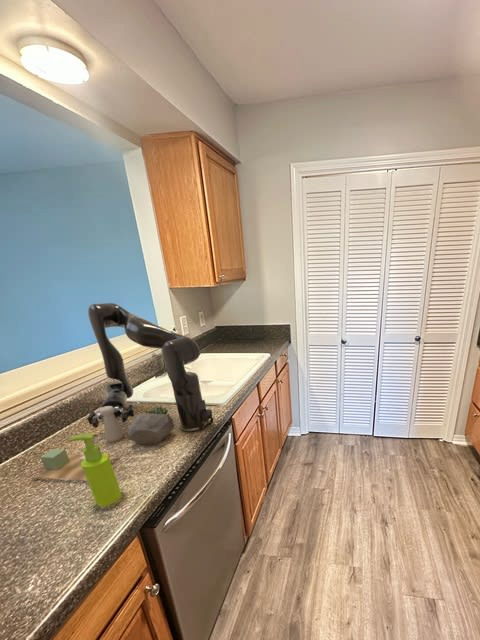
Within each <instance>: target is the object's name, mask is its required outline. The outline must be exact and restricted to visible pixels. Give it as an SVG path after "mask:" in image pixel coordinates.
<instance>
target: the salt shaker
mask: <svg viewBox="0 0 480 640" xmlns="http://www.w3.org/2000/svg"><path fill="white" fill-rule="evenodd" d="M99 412H100V414H101V415H102V416H103V417H104V418H103V419H104V422H103V427H104V438H105V439H106V441H108V442H110V443H111V442H112V443H113V442H117V441H120V440H121V439H123V438H124V436H125V432H124V431H123V428H122V427H121V424H120V423H119V421H118V418H116V417H115V415H114V414H113V413H114V408H113V407H112V406H105V407H102V406H101V408H100V409H99Z"/></svg>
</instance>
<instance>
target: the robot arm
mask: <svg viewBox="0 0 480 640" xmlns="http://www.w3.org/2000/svg"><path fill="white" fill-rule="evenodd" d="M87 314H88V319H89V323H90V326H91V328H92V331H93V333H94V337H95V339H96V341H97V344H98V347H99V350H100V352H101V356H102V361H103V365H104V369H105V374H106V377H107V378H108V379H111V380H118V381H119V382H111V383H108V384H106V385H105V386H104V387H105V388H104V393H105V396H106V397H105V399H104V401H103V404H102V406H101V408H102V407H105V406H112V407H113V408H114V413H113V414H114V415H115V417H116V419H119V418H120V419H121V422H122V423H126V421H128V418H129V417H134V416H135V409H134V406H133V404H129V405H128V406H127V399H130V398H132V397H133V395H134V388H133V386H132V384H131V382H130V380H129V378H128V376H127V373H126V368H125V363H124V359H123V356H122V354H121V352H120V351H119V350H118V349H117V348H116V346H115V345H114V344H113V343H112V341H111V340H110V339H109V336H108V335H107V331H106V329H107V328H115V327H116V328H117V327H119V328H123V329H124V333H125V335H126V337H127V338H128V339H129V340H130V341H132V342H133V343H136V344H138V345H140V346H142V347H145V348H150V349H159V350H161V355H162V358H163V359H162V360H163V363H164V367H165V370H166V373H167V376H168V379H169V380H170V382H171V386H172V392H173V396H174V400H175V405H176V410H177V414H178V418H179V422H180V428H181V429H180V430H182V431H184V432H188V433H189V432H197V431H203V430H204V429H205V427H207V425H208V426H212V424H213V423H214V418H213V411H212V409H208V408H207V404H206V400H205V399H203V396H202V391H201V385H200V378H199V375H198V374H197V373H196V372H192V371H187V370H186V368H185V366H186V365H189V364H192V363H194V362H195V361H197V360H198V359H199V358H200V356H201V355H200V354H201V350H200V347H199V345H198V343H197V342H195V340H194V339H192V338H191V337H190V336H189V337H188V336H187V335H183V334H180V333H176V332H174V331H171V330H168V329H167V328H165V327H162V326H159V325H157V324H155V323H153V322H151V321H150V320H147V319H145V318H142V317H140V316H137V315H136V314H133V313H131V312H129V311H128V310H126V309H125V308H123V306H120V305H119V304H117V303H114V302H104V303H102V302H101V303H93V304H90V305H89V306H88V310H87ZM209 420H210V421H209ZM87 421H88V424H89V425H92V427H93V428H94V429H96V428H98V427H99V425H100V423H104V417H103V416H102V415H101V414H100V411H99V412H96V411H90V413H89V414H88V416H87Z"/></svg>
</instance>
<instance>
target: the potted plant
mask: <svg viewBox="0 0 480 640" xmlns="http://www.w3.org/2000/svg"><path fill="white" fill-rule="evenodd" d="M168 410H169V409H168V408H167V406H165V407H163V406H159V405H157V406H155V408H154V407H153V408H151V410H150V409H146V410H143V411H142V412H141V413H138V415H136V417H135V418H134V419H133V421H132V423H131V424H130V427H129V429H128V437H129V440H131V441H132V442H134V443H136V444H138V445H141V446H148V445H157V444H159V443H160V442H162V441H163V440H165V439H166V438H167V437H169V435H170V434H171V432H172V431H173V429H174V427H175V424H174V420H173V418H172V417H171V416H170V413H168Z"/></svg>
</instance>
